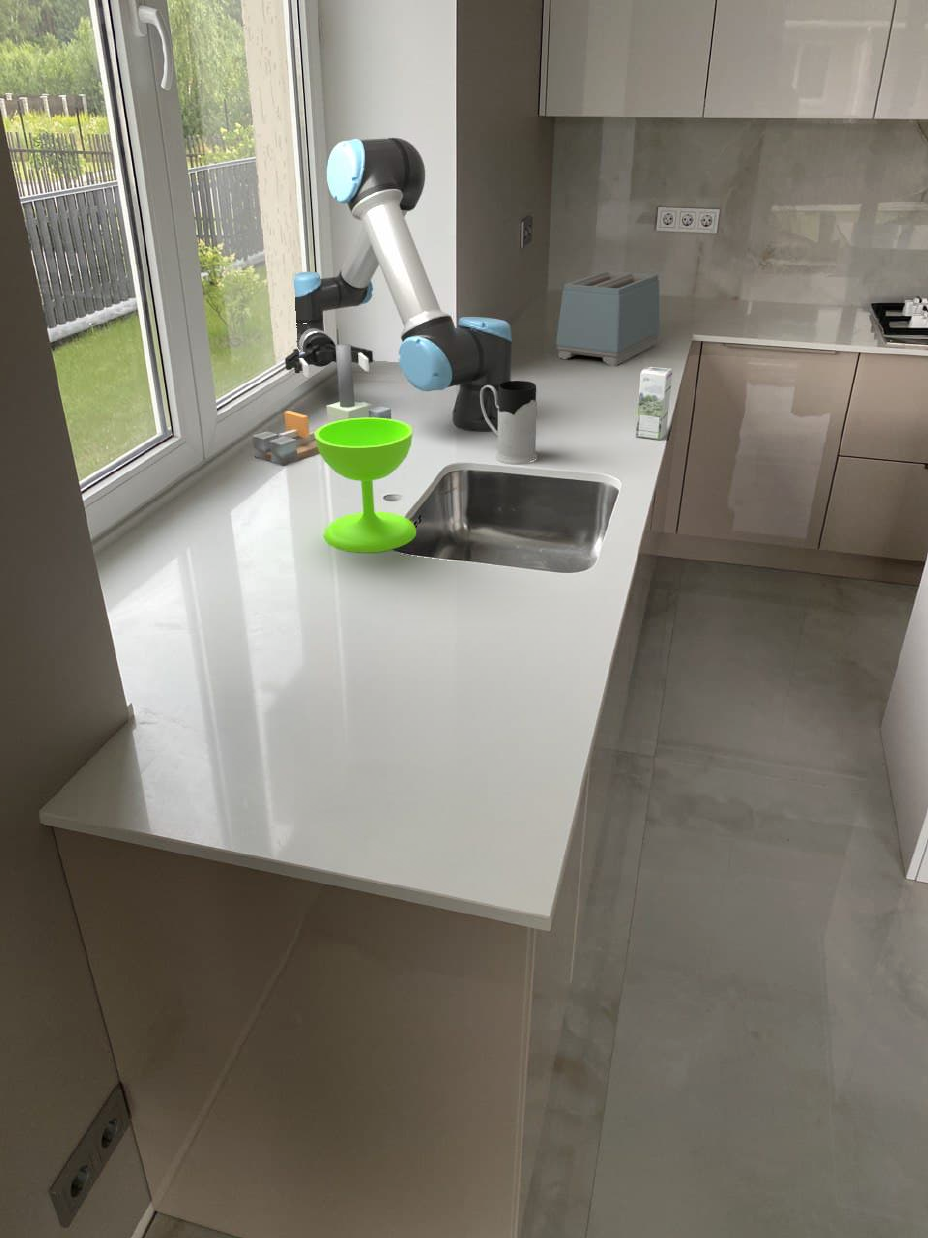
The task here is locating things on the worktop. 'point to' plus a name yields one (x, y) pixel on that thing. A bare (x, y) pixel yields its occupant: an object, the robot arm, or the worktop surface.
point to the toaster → (609, 316)
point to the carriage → (345, 389)
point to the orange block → (295, 425)
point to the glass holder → (515, 421)
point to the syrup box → (653, 403)
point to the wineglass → (366, 480)
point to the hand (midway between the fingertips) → (337, 368)
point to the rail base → (298, 442)
